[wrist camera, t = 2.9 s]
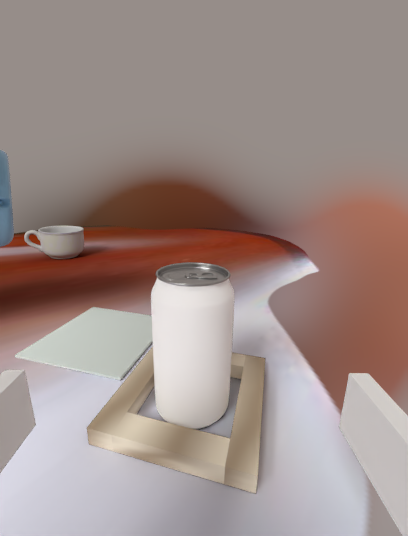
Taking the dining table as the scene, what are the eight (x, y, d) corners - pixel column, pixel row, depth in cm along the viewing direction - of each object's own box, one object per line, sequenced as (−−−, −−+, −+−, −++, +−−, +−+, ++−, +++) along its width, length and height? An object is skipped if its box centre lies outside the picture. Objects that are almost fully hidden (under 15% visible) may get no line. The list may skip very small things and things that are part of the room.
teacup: (88, 251, 79) (85, 225, 76) (83, 260, 69) (79, 230, 66) (36, 253, 75) (31, 226, 72) (22, 263, 65) (16, 231, 62)
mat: (15, 357, 28) (15, 355, 28) (93, 308, 40) (92, 306, 40) (120, 380, 25) (120, 377, 25) (170, 320, 37) (170, 318, 37)
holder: (88, 444, 19) (86, 427, 18) (158, 351, 30) (157, 339, 30) (255, 493, 16) (257, 475, 16) (264, 370, 27) (265, 358, 27)
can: (159, 376, 26) (155, 261, 23) (223, 375, 26) (229, 261, 23) (150, 435, 20) (142, 286, 16) (234, 431, 20) (244, 286, 17)
